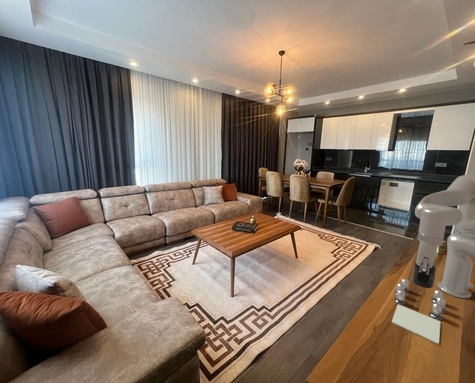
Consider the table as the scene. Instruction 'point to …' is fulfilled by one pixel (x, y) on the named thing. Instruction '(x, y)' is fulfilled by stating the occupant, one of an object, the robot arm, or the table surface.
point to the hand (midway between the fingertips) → (423, 277)
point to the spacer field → (437, 300)
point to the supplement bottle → (430, 280)
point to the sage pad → (417, 323)
